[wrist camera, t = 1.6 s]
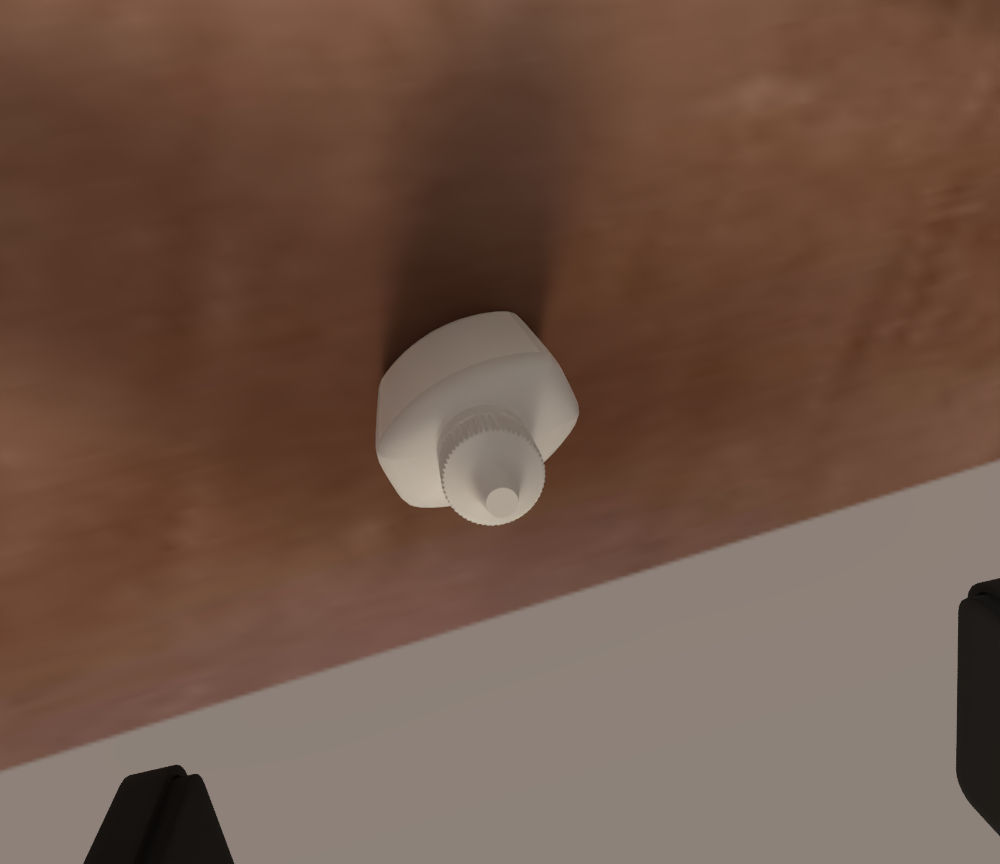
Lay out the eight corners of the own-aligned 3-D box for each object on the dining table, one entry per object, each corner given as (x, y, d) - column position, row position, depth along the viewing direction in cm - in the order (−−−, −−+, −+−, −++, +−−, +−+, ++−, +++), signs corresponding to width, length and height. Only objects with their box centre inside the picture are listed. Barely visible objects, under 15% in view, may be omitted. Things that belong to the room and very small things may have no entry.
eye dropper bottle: (377, 307, 27) (365, 404, 16) (538, 309, 28) (639, 402, 16) (379, 428, 28) (370, 598, 17) (533, 427, 29) (622, 589, 18)
